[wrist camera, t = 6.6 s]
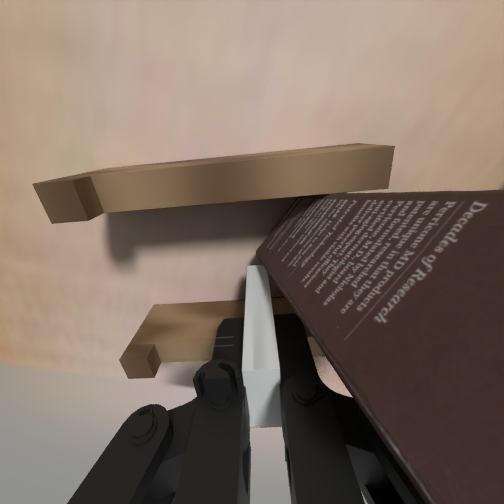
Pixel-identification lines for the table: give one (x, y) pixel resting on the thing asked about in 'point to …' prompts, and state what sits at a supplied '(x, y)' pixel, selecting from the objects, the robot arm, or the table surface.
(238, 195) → the brown piece
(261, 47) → the table surface
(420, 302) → the box
